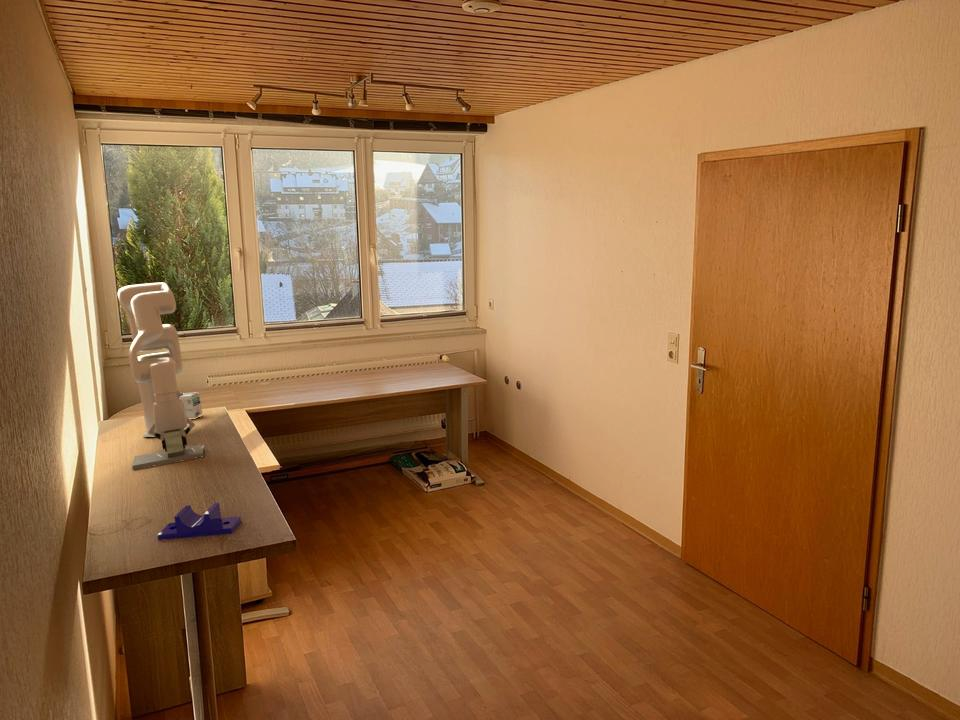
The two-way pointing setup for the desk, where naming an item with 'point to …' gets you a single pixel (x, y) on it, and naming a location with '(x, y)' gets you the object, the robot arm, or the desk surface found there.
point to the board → (166, 457)
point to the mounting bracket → (199, 524)
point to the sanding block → (174, 443)
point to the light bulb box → (192, 404)
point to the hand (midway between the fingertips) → (175, 448)
